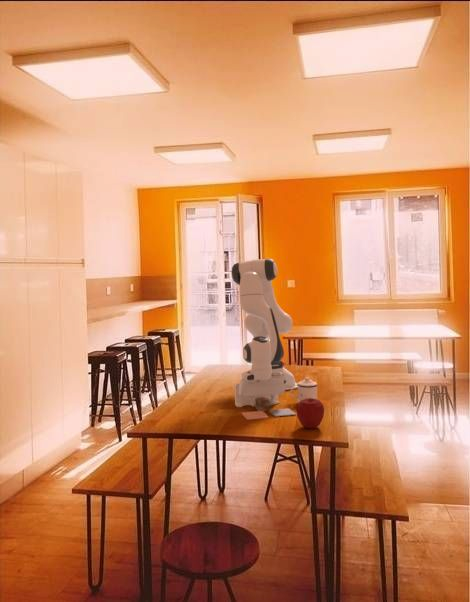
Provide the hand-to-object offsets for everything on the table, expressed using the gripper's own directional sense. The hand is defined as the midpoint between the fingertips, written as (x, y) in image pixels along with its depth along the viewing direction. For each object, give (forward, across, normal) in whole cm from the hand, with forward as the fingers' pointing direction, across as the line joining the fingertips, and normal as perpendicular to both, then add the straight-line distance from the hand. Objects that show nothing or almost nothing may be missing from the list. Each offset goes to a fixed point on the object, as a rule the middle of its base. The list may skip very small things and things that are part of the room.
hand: (262, 405), depth 226 cm
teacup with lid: (+2, -21, -4) cm, 22 cm away
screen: (+2, 0, -9) cm, 9 cm away
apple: (+2, -10, +31) cm, 32 cm away
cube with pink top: (+2, 0, 0) cm, 2 cm away
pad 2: (+2, -6, +9) cm, 11 cm away
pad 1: (+2, +6, +9) cm, 11 cm away
